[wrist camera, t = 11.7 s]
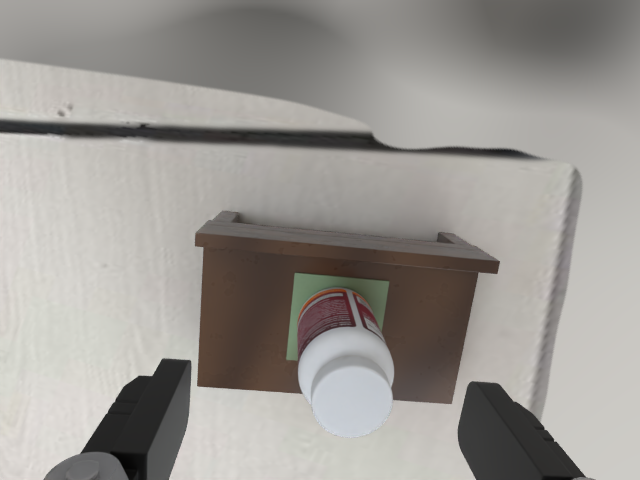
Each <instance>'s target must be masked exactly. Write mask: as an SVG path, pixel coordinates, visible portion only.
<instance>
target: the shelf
mask: <svg viewBox="0 0 640 480" xmlns="http://www.w3.org/2000/svg"><path fill="white" fill-rule="evenodd" d="M195 246H198V247H204V252H203V274H202V295H201V316H200V337H199V359H198V380H197V386H199V387H213V388H228V389H242V390H257V391H271V392H285V393H300V394H303V393H302V391H301V388H300V385H299V380H298V346H297V323H298V316H299V313H300V310H301V308H302V306H303V305H304V303H305V302H306V301H307V300H308V299H309V298H310V297H311V296H312V295H314V294H315V293H317V292H319V291H321V290H324V289H327V288H334V287H341V288H346V289H350V290H352V291H354V292H356V293H358V294H359V295H361V296H362V297H363V298H364V299H365V300H366V301H367V303H368V304H369V306H370V307H371V309H372V312H373V314H374V316H375V319H376V321H377V323H378V326H379V328H380V330H381V333H382V335H383V337H384V340H385V342H386V345H387V347H388V349H389V351H390V354H391V357H392V360H393V365H394V379H393V383H392V386H391V390H392V395H393V400H401V401H415V402H429V403H444V404H452V400H453V395H454V390H455V385H456V380H457V375H458V370H459V365H460V361H461V356H462V351H463V346H464V341H465V336H466V331H467V326H468V321H469V317H470V312H471V307H472V302H473V297H474V292H475V287H476V282H477V278H478V273H479V272H480V273H491V274H497V273H498V268H499V264H500V261H498V260H497V259H495V258H494V257H492V256H490V255H489V254H487V253H486V252H484V251H483V250H481V249H479V248H478V247H476V246H472V245H470V244H469V243H467V242H466V241H464V240H463V239H461V238H459V237H458V236H456V235H455V234H452V233H442V232H439V233H438V239H437V242H429V241H419V240H408V239H398V238H388V237H377V236H367V235H357V234H346V233H336V232H326V231H315V230H305V229H294V228H284V227H274V226H263V225H253V224H243V223H238V212H228V211H222V212H221V213H220V214H219V215H218V216H217V217H216V218H214V219H213V220H209V221H208V222H207V223H206V224H205V225H203V226H202V227H201V228H200V229H199V230H198V231H197V232H196V235H195Z"/></svg>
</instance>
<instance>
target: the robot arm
mask: <svg viewBox="0 0 640 480" xmlns="http://www.w3.org/2000/svg"><path fill="white" fill-rule="evenodd" d="M190 386H191V361H190V360H179V359H165V358H163V359H162V360H161V362H160V364H159V365H158V367H157V369H156V371H155V373H154V374H153V376H138V377H137V378H135V379H134V380H133V381H131V382H130V383H128V384H127V385H125V386H124V387H123V389H122V390H121V392H120V394H119V395H118V397H117V398H116V400H115V402H114V403H113V404H112V406H111V407H110V409H109V410H108V414H106V415H105V417H104V418H103V420H102V421H101V423H100V424H99V426H98V427H97V429H96V430H95V432H94V433H93V435H92V437H91V438H90V440H89V441H88V443H87V444H86V446H85V447H84V449H83V450H82V452H81V453H80V454H78V455H75V456H73V457H70V458H68V459H66V460H64V461H62V462H61V463H59V464H58V465H56V466H55V467H54V468H53V469H52V470H51V471H50V472H49V473H48V474H47V475H46V477H45V478H44V480H169V477H170V474H171V471H172V469H173V466H174V463H175V460H176V457H177V454H178V452H179V449H180V446H181V443H182V440H183V437H184V435H185V431H186V427H187V423H188V417H189V406H190ZM458 442H459V446H460V449H461V451H462V453H463V455H464V457H465V459H466V461H467V463H468V465H469V467H470V469H471V471H472V472H473V474H474V476H475V478H476V480H594V479H591V478H586V477H585V476H584V474H583V473H582V472H581V471H580V469H579V468H578V467H577V466H576V465H575V463H574V462H573V461H572V460H571V459H570V458H569V456H568V455H567V454H566V453H565V451H564V450H563V449H562V448H561V447H560V446H559V444H558V443H557V442H554V439H553V437H552V436H551V435H550V434H549V432H548V431H547V430H544V426H543V425H542V424H541V423H540V422H539V420H538V419H537V418H536V417H535V416H534V415H533V414H532V413H531V412H530V411H528V410H527V409H525V408H524V407H523V406H521V405H520V404H519V403H517V402H513V400H512V399H511V398H510V397H509V395H508V394H507V393H506V392H505V390H504V389H503V388H502V387H501V386H500V385H499V384H498V383H488V382H474V381H472V382H470V383H469V385H468V387H467V391H466V395H465V399H464V404H463V408H462V412H461V417H460V421H459V425H458Z"/></svg>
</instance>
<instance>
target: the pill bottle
mask: <svg viewBox="0 0 640 480" xmlns="http://www.w3.org/2000/svg"><path fill="white" fill-rule="evenodd" d="M297 346H298V380H299V385H300V388H301V391H302V393H303V395H304V397H305V398H306V400H307V401H308V402H309V403H310V405H312V411H313V414H314V416H315V418H316V420H317V422H318V423H319V424H320V425H321V426H322V427H323V428H324V429H325V430H326V431H328V432H330V433H332V434H334V435H336V436H340V437H346V438H354V437H361V436H364V435H367V434H369V433H371V432H373V431H375V430H376V429H378V428H379V427H380V426H381V425H382V424H383V423H384V422H385V421H386V419H387V418H388V416H389V414H390V412H391V409H392V404H393V395H392V390H391V386H392V383H393V379H394V365H393V360H392V357H391V354H390V351H389V349H388V347H387V345H386V342H385V340H384V337H383V335H382V333H381V330H380V328H379V326H378V323H377V321H376V319H375V316H374V314H373V312H372V309H371V307H370V306H369V304H368V303H367V301H366V300H365V299H364V298H363V297H362V296H361V295H359V294H358V293H356V292H354V291H352V290H350V289H346V288H341V287H334V288H327V289H324V290H321V291H319V292H317V293H315V294H314V295H312V296H311V297H310V298H309V299H308V300H307V301H306V302H305V303H304V305H303V306H302V308H301V310H300V313H299V316H298V323H297Z"/></svg>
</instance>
